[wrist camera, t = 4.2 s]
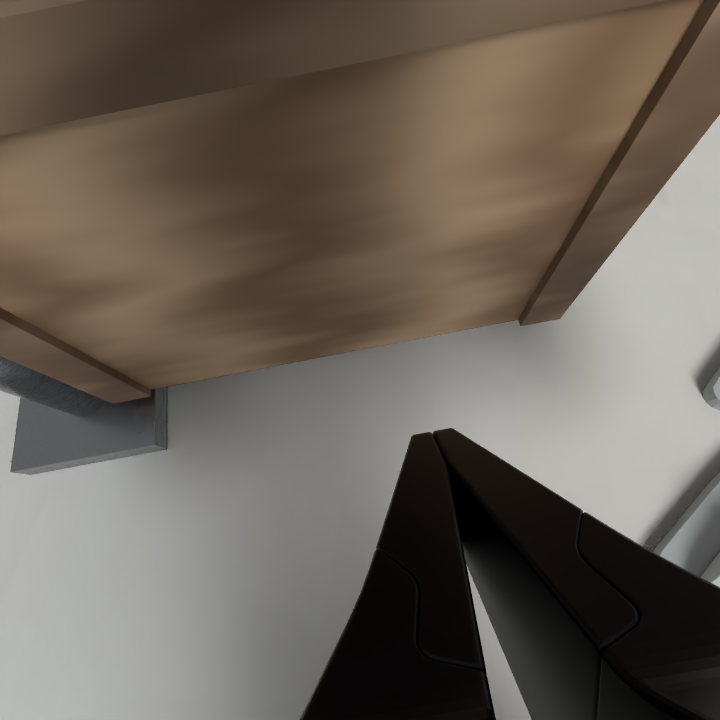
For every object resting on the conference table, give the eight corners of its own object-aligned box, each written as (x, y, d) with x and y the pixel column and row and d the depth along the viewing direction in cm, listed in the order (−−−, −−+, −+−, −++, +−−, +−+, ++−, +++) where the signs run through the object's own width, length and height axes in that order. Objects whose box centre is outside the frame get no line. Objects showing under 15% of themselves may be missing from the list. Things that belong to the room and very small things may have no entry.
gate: (112, 403, 17) (-535, 128, 5) (115, 354, 18) (-442, 20, 6) (559, 318, 17) (947, -178, 5) (541, 272, 18) (838, -250, 6)
